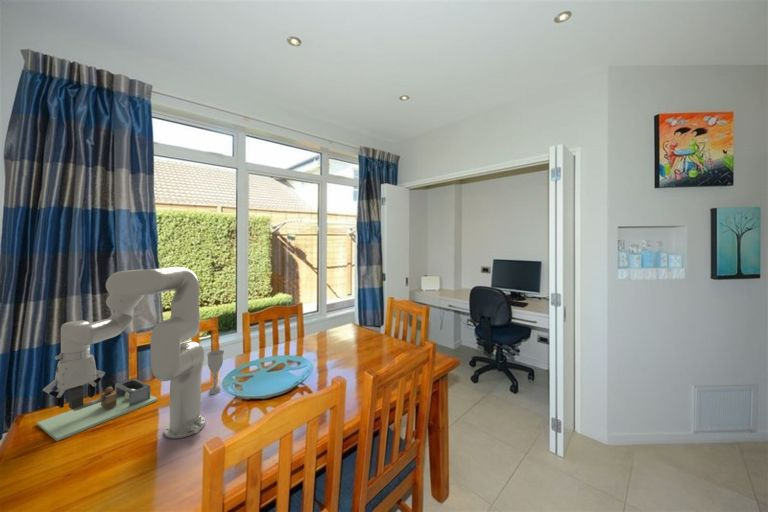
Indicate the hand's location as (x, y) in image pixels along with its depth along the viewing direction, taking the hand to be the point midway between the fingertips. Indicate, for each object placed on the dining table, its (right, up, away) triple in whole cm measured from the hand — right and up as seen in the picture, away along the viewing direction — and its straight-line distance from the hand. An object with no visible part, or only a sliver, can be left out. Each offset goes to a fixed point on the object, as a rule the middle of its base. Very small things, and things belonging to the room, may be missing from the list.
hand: (76, 401), depth 110 cm
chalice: (+37, -8, +26) cm, 46 cm away
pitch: (+3, -8, +7) cm, 11 cm away
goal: (+8, -8, +16) cm, 19 cm away
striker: (+2, -6, +5) cm, 8 cm away
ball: (+7, -5, +15) cm, 18 cm away
